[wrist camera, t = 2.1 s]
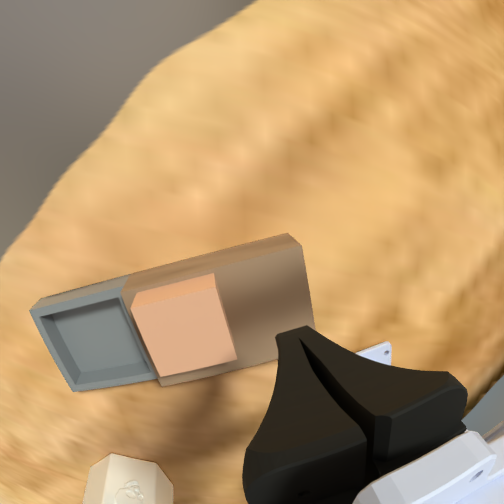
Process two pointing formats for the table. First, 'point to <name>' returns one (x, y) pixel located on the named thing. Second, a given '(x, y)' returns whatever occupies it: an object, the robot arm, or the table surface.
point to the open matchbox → (241, 298)
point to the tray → (92, 336)
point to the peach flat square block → (184, 325)
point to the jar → (127, 482)
